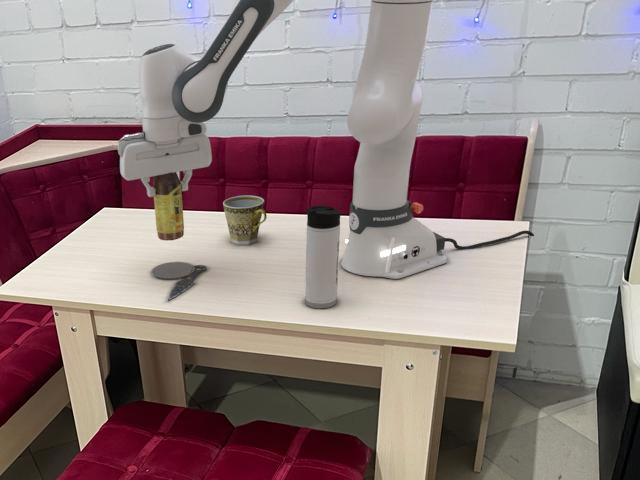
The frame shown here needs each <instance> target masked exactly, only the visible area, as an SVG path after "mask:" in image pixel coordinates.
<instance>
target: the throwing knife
mask: <svg viewBox="0 0 640 480" xmlns="http://www.w3.org/2000/svg"><path fill="white" fill-rule="evenodd" d="M193 267H194V268H195V270H194V272H193V273H191V272H192V270H191V272H190V273H191V274H189V275H188V276H187V277H185V278H182V279H179V280H178V281H176V282H175V283H174V284H173V287H172V289H171V291H170V293H169V296H168V298H167V301H168V302H169V301H170V300H172V299H174V298H176V297H177V296H179V295H181V294H183V293H184V292H185V291H187V290H189V289H190V288H191V287H192V286H194V285H195V282H194V281H195V280H196V278H198V276H200V275H201V274H203V273H205V272H206V271H207V270H208V266H206V265H203V264H196V265H193ZM193 267H192V268H193Z"/></svg>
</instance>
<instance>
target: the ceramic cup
mask: <svg viewBox="0 0 640 480" xmlns="http://www.w3.org/2000/svg"><path fill="white" fill-rule="evenodd" d="M222 206H223V211H224V215H225V216H224V217H225V219H226V224H227V228H228V233H229V239H230V242H231V243H232V244H235V245H238V246H248V245H252V244H255V243H257V242H258V237H259V230H260V226H261V224H263V223H264V222H265V221H266V220H267V212H266V210H265V209H264V207H265V199H264V198H263V197H261V196H256V195H237V196H232V197H229V198H227V199H225V200H224V201H223V202H222ZM262 216H263V220H261V219H262Z"/></svg>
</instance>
